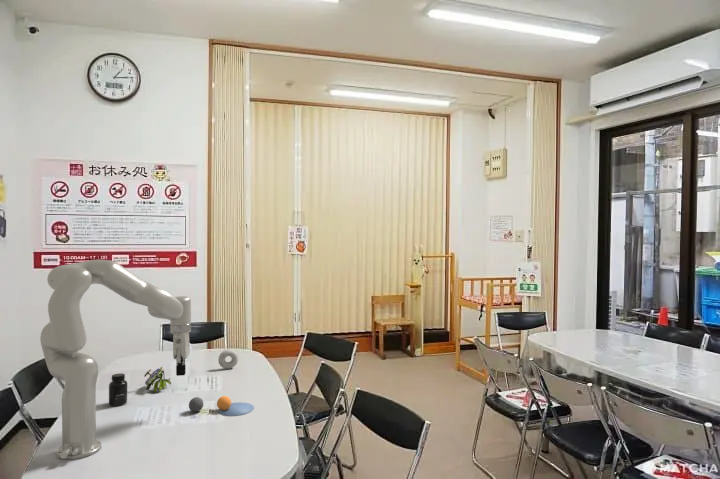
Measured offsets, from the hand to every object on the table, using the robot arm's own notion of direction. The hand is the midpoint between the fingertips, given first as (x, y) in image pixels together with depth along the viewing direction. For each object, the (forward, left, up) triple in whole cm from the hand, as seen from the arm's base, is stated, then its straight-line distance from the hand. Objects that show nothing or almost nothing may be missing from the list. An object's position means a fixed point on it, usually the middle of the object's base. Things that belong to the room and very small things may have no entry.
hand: (180, 374), depth 191 cm
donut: (+58, -14, -15) cm, 62 cm away
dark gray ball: (+1, -6, -12) cm, 14 cm away
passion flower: (+32, +15, -15) cm, 38 cm away
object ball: (0, -16, -12) cm, 20 cm away
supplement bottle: (+15, +27, -15) cm, 34 cm away
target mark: (0, -21, -15) cm, 26 cm away
